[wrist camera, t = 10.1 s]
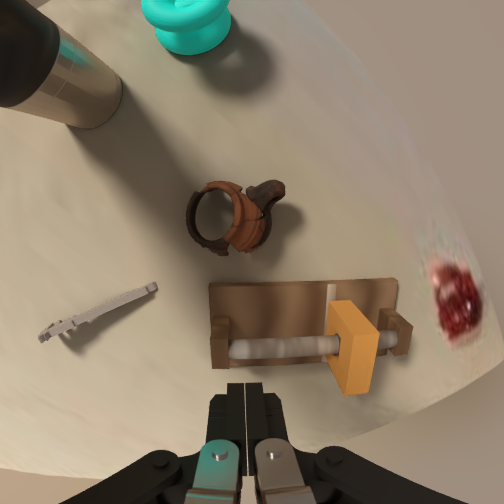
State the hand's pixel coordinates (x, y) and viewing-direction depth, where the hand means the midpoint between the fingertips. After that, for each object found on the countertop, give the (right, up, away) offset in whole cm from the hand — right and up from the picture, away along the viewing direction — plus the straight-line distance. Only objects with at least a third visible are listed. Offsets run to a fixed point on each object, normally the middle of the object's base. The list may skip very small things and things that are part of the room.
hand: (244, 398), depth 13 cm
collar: (+12, -4, +29) cm, 31 cm away
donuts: (-7, +36, +22) cm, 43 cm away
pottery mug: (-1, +12, +27) cm, 30 cm away
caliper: (-22, -2, +30) cm, 37 cm away
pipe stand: (+8, -3, +31) cm, 32 cm away
